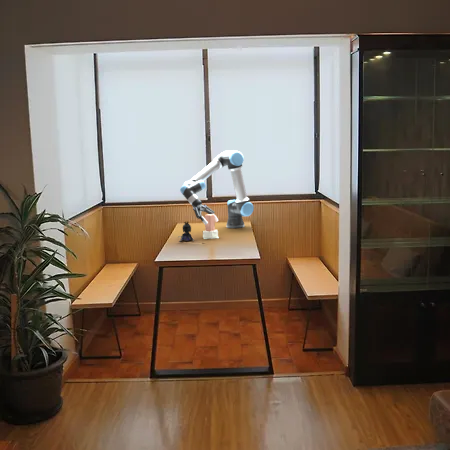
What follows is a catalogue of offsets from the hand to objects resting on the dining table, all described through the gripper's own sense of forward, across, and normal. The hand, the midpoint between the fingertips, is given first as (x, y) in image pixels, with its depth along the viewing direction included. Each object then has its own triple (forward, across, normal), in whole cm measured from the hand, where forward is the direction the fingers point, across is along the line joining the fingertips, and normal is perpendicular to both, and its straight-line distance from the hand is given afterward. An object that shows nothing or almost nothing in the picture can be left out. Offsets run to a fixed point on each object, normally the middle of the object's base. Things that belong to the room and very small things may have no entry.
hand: (212, 222), depth 401 cm
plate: (+7, 0, -10) cm, 13 cm away
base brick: (+7, 0, -10) cm, 12 cm away
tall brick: (+3, 0, -6) cm, 7 cm away
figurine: (0, +16, -18) cm, 23 cm away
